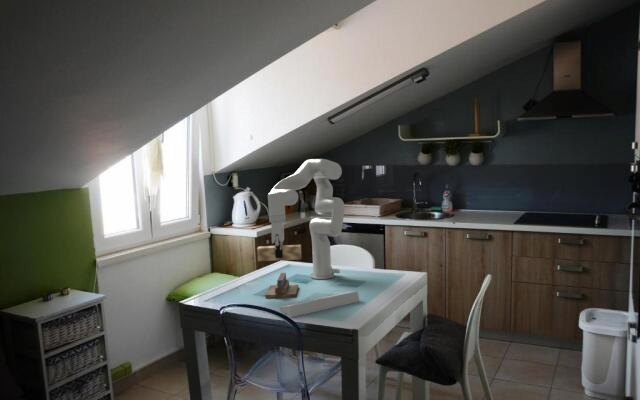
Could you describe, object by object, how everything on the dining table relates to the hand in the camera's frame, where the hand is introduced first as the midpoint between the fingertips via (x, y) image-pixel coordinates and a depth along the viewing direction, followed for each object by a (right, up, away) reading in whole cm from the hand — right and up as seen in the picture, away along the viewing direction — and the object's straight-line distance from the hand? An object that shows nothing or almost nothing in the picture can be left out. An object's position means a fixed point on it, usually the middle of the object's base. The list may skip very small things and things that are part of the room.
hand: (279, 256), depth 243 cm
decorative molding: (+19, -21, -16) cm, 32 cm away
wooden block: (0, -1, 0) cm, 1 cm away
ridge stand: (+1, -18, +6) cm, 19 cm away
